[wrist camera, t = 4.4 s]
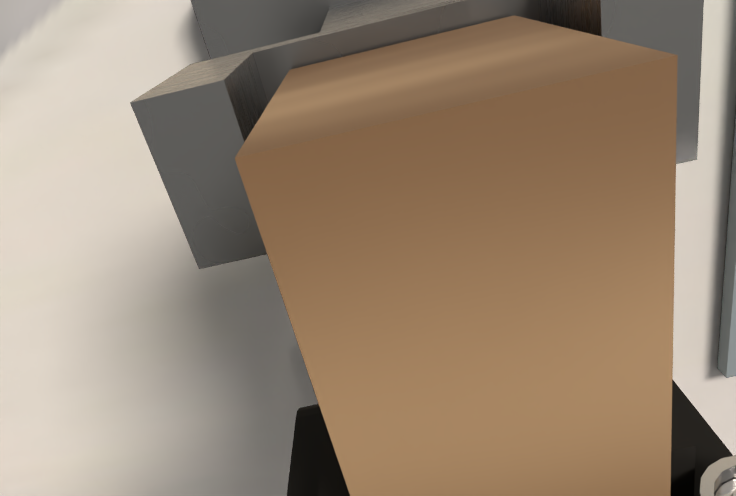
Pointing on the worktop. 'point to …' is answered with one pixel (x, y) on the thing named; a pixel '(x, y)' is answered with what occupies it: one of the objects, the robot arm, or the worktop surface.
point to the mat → (729, 286)
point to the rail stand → (334, 40)
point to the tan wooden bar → (480, 258)
